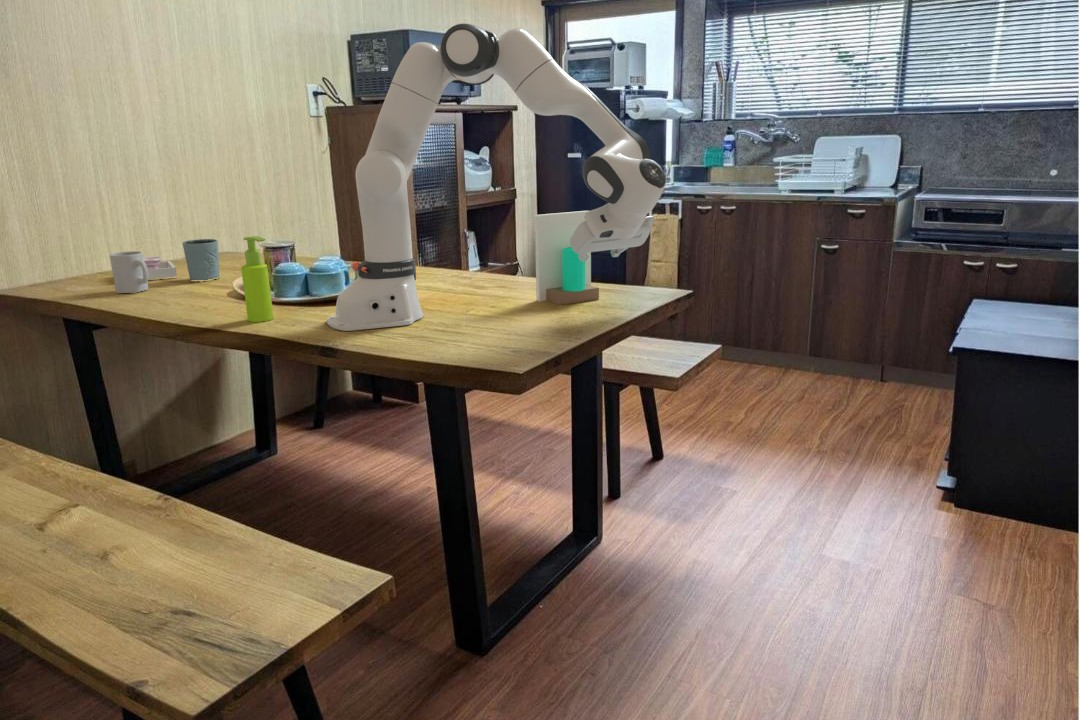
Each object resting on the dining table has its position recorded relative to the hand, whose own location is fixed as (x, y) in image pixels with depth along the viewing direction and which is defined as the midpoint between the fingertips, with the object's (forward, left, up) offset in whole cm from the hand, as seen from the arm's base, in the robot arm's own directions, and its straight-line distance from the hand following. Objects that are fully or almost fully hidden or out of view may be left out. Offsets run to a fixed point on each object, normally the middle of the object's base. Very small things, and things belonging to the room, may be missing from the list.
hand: (597, 256), depth 191 cm
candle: (-1, +10, -10) cm, 14 cm away
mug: (-96, +95, -13) cm, 136 cm away
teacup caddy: (-91, +119, -13) cm, 151 cm away
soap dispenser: (-73, +36, -13) cm, 83 cm away
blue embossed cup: (-76, +103, -13) cm, 129 cm away
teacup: (-90, +119, -13) cm, 150 cm away
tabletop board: (0, +12, -13) cm, 17 cm away
